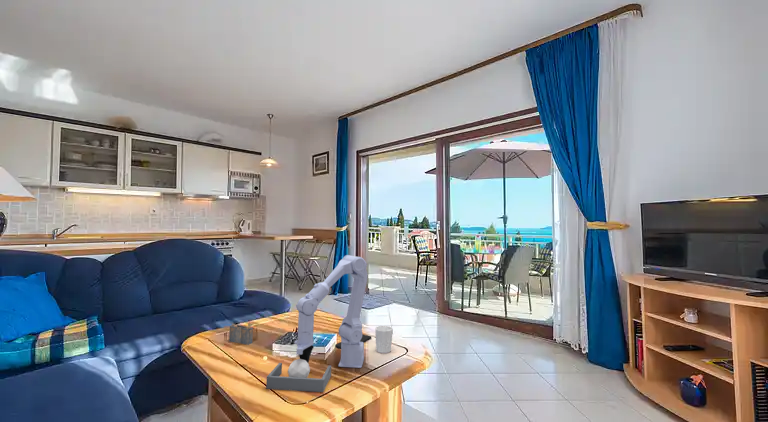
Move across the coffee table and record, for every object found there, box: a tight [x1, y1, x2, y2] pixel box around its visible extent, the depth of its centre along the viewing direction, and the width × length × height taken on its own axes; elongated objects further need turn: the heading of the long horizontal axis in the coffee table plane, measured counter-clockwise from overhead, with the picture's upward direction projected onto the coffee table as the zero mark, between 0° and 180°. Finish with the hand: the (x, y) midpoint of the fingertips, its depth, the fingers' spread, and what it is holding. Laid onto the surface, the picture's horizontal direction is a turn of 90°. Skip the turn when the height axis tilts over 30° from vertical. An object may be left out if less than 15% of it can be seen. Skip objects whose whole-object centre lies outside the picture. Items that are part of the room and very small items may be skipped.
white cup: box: [374, 325, 394, 354], centre depth 153 cm, size 8×8×10 cm
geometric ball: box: [287, 358, 311, 378], centre depth 121 cm, size 8×8×8 cm
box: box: [265, 362, 332, 393], centre depth 121 cm, size 20×12×4 cm, turn 86°
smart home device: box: [334, 333, 372, 350], centre depth 161 cm, size 8×2×20 cm
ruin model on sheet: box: [228, 321, 254, 346], centre depth 159 cm, size 11×3×10 cm, turn 71°
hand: (304, 366), depth 126 cm, fingers closed
